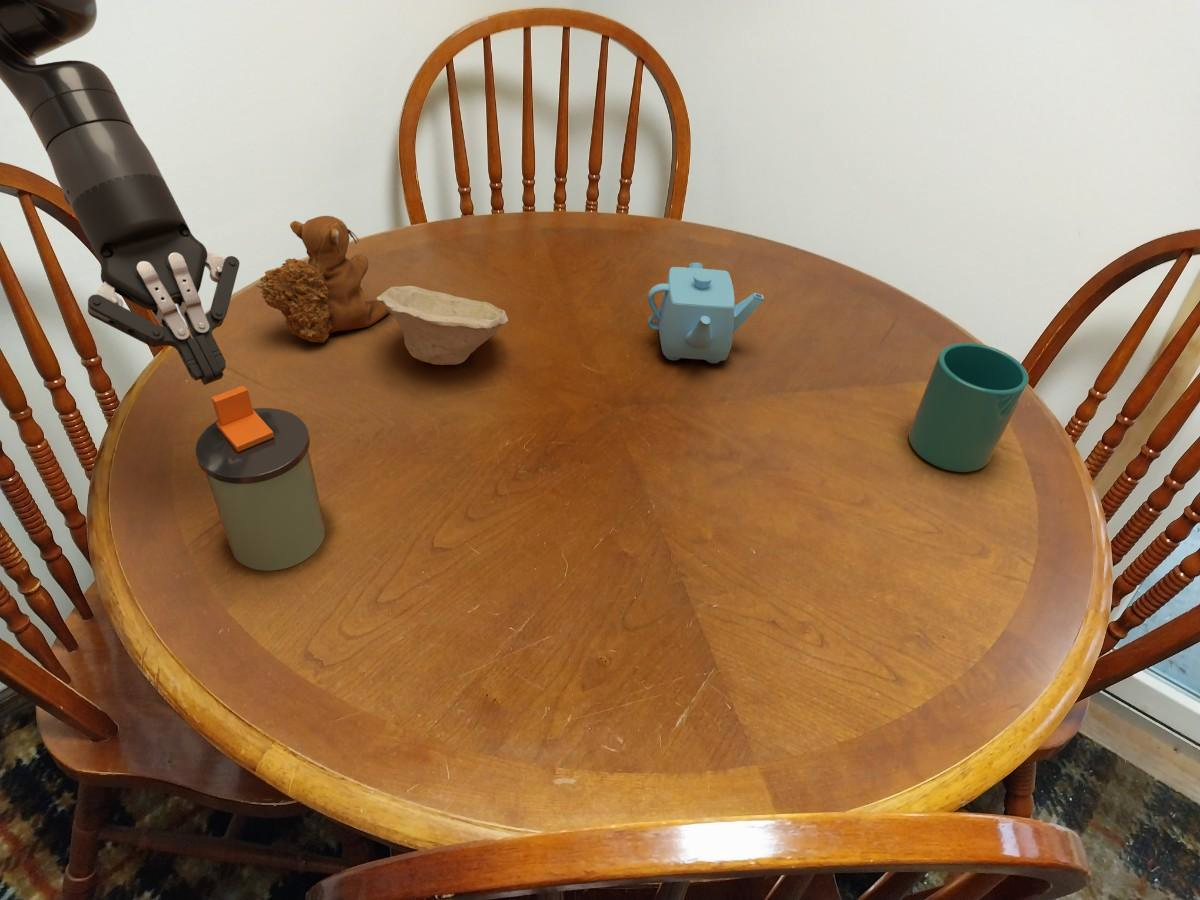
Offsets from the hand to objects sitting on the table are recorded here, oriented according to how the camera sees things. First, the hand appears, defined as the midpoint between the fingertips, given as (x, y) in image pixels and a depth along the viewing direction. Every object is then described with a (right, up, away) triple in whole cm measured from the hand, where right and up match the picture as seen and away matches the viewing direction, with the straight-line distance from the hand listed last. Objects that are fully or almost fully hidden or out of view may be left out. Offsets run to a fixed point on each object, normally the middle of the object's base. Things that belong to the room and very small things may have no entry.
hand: (214, 379), depth 73 cm
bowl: (+15, +5, +30) cm, 34 cm away
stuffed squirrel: (-1, +10, +33) cm, 35 cm away
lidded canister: (+3, -14, +6) cm, 16 cm away
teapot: (+45, +7, +35) cm, 58 cm away
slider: (+3, -5, -1) cm, 6 cm away
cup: (+72, -5, +24) cm, 76 cm away
